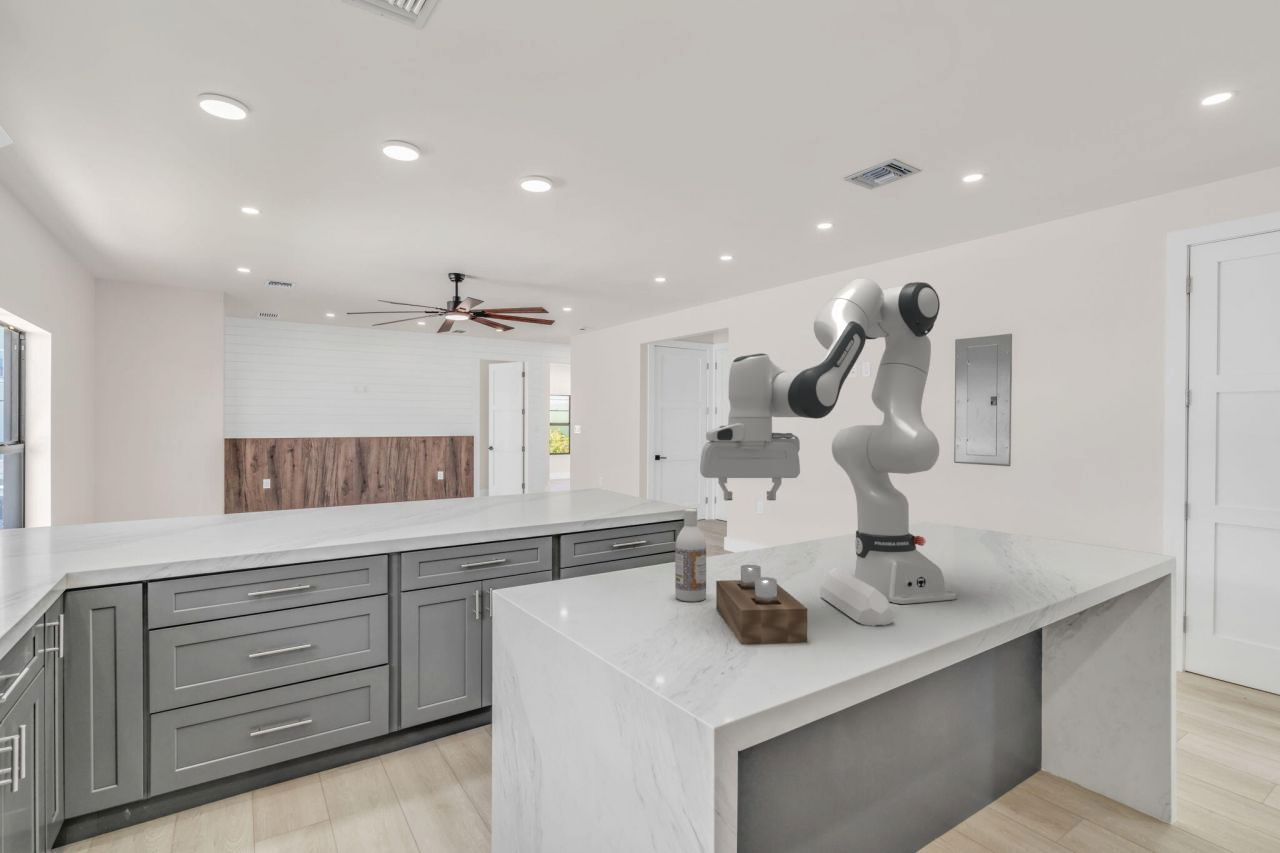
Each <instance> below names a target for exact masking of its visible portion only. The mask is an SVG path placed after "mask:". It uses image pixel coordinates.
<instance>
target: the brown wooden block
mask: <svg viewBox="0 0 1280 853" xmlns="http://www.w3.org/2000/svg"><path fill="white" fill-rule="evenodd" d="M715 587H716V588H715V591H716V592H715V594H716V596H715V598H716V599H715V600H716V601H715V605H716V606H715V608H716V611H717V612H718V613H719V615H720V616H721V618H722V620H724V622H725V623H726V624H727V626H728V627H729V629H730V630H731V632H732V633H733V634H734V635H735V637H736V639H737V640H738V641H739V643H740V644H741V645H753V644H754V645H755V644H757V645H759V644H790V643H794V644H795V643H808V608H807V607H806V606H805V605H804V604H803V603H801V602H800V601H799V600H797V599H796V598H795V597H794V596H792V595H791V593H789V592H788V591H787V590H786V589H784V588H783V587H781V585H779V584H778V583H777V604H776V605H756V604H755V589H753V590H742V589H741V579H738V580H734V579H732V580H731V579H729V580H715Z"/></svg>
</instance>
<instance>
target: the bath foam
mask: <svg viewBox="0 0 1280 853" xmlns="http://www.w3.org/2000/svg"><path fill="white" fill-rule="evenodd" d="M683 517H684V518H683V524H684V525H683V527H682V529H681V530H680V531H679V533H678V536H676V539H675V540H676V542H675V545H674V546H675V550H674V551H675V552H674V553H675V555H674V556H675V559H674V567H675V572H674V574H675V575H674V576H675V577H674V578H675V579H674V581H675V582H674V585H675V591H674V592H675V598H676V599H677V600H679V601H682V602H690V603H694V602H697V603H698V602H702V601H704V600H705V599H706V598H707V543H706V539H705V537H704V535H703V532H702V531H701V529H700V528H699V526H698V509H694V508H687V509H686V508H685V509H684V511H683Z"/></svg>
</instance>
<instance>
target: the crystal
mask: <svg viewBox="0 0 1280 853" xmlns="http://www.w3.org/2000/svg"><path fill="white" fill-rule="evenodd" d="M819 597H821V598H823V600H825V601H827V602H828V603H829V604H830V605H832V606H834V607H835V608H837V609H838V610H840V611H841V612H843V613H844V614H845V615H846V616H848V617H849V618H851V619H853V620H854V621H855V622H856V623H860V624H861V625H864V626H868V625H872V626H871V627H876V625H884V626H887V625H886V624H888V625H889V624H892V623H893V622H895V616H894V615H895V614H894V613H895V612H894V609H893V607H892V605H891V603H890V602H889V601H888V600H887V598H886V597H885V596H884V595H883V594H882V593H880V592H879V591H878V590H877V589H875V588H874V587H872V586H870V585H868V584H866V583H864V582H862V581H861V580H859V579H857V578H855V577H854V575H852V574H849V573H847V572H846V571H844V570H842V569H839V568H838V567H837V566H835V567H834V568H832V569H830V570H829V571H828V573H827V574H826V576H825V578H824V580H823V582H822V584H821V585H820V588H819Z"/></svg>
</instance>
